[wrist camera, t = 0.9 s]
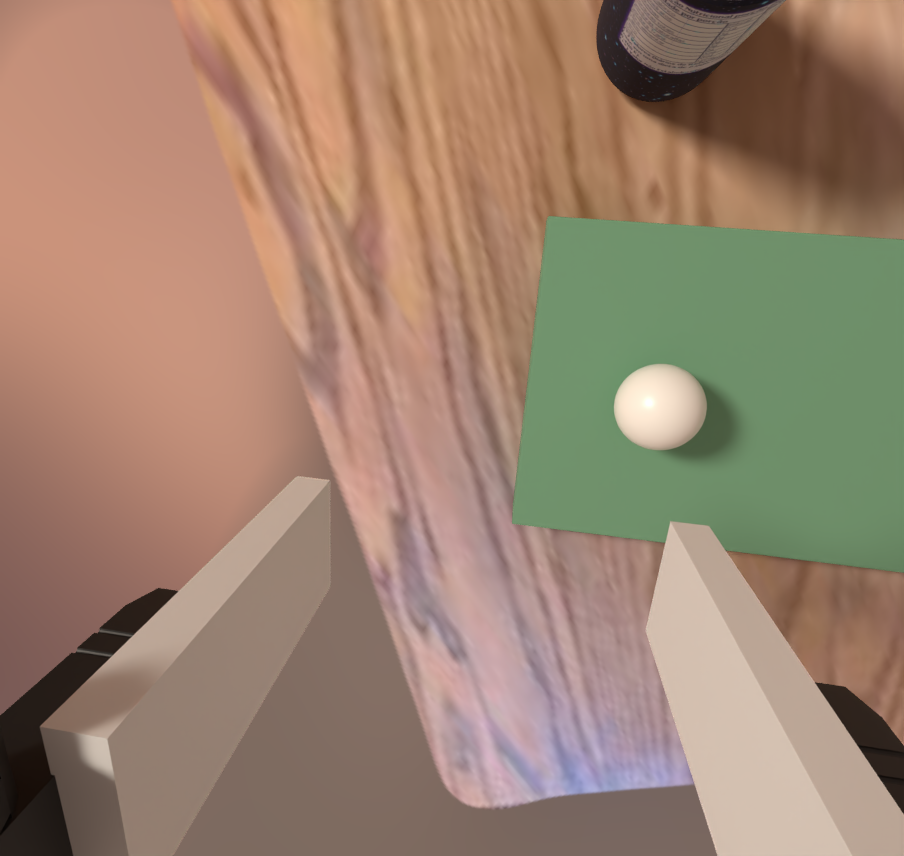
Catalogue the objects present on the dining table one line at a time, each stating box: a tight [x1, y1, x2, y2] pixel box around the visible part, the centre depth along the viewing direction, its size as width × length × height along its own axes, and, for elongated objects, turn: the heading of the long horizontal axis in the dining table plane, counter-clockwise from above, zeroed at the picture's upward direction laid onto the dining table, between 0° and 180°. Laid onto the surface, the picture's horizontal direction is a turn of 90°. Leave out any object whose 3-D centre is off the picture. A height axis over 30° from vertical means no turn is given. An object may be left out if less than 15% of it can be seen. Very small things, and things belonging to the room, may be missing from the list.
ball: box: [614, 364, 707, 450], centre depth 25 cm, size 4×4×4 cm
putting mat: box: [512, 216, 904, 573], centre depth 27 cm, size 16×28×2 cm, turn 86°
